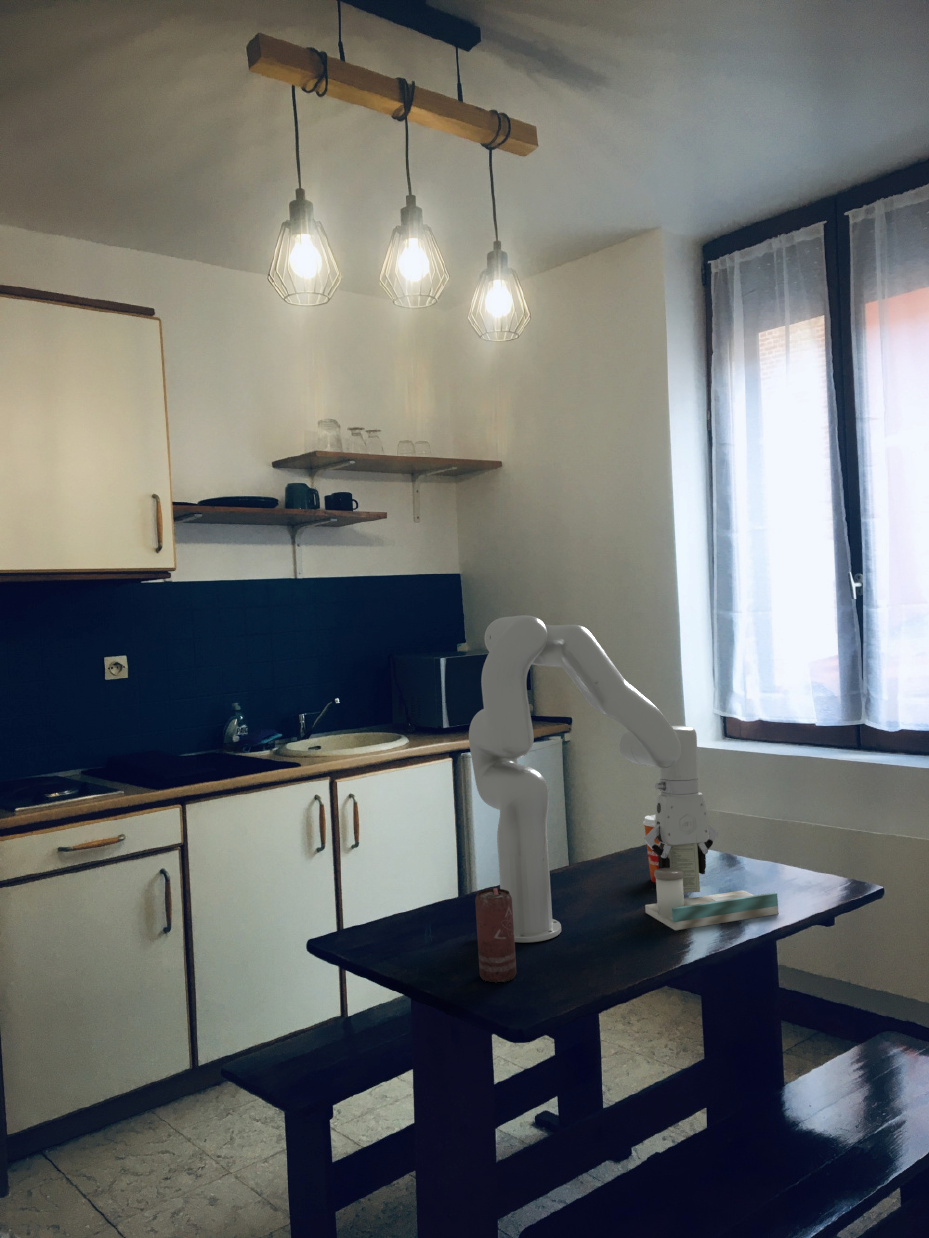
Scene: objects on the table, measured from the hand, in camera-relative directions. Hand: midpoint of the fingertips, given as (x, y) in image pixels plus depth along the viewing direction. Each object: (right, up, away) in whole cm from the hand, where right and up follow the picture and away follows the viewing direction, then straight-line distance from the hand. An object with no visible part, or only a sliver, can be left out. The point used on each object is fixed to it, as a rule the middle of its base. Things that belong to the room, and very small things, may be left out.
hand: (682, 873), depth 191 cm
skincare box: (0, -4, 0) cm, 4 cm away
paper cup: (0, -6, +16) cm, 18 cm away
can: (-39, -8, -35) cm, 53 cm away
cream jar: (-5, -4, -12) cm, 13 cm away
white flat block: (+4, -5, -8) cm, 11 cm away
